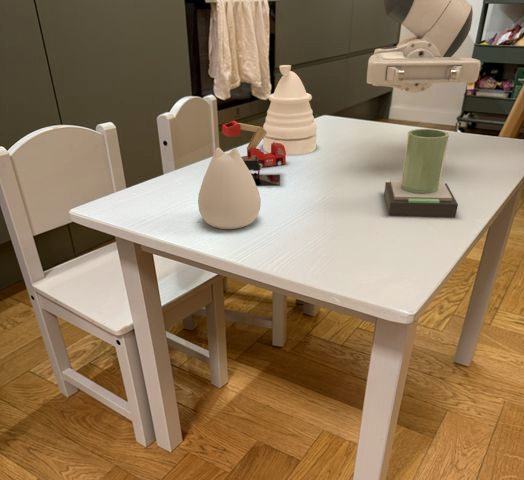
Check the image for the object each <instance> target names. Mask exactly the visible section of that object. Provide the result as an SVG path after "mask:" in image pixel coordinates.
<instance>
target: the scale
mask: <svg viewBox="0 0 524 480" xmlns="http://www.w3.org/2000/svg"><path fill="white" fill-rule="evenodd" d="M383 197H384V201H385V205H386V206H385V207H386V211H387V215H388V217H416V218H417V217H419V218H420V217H421V218H448V219H449V218H451V219H453V218H456V217H457V210H458V207H459V204H458V202H457V200H456V198H455V196H454V194H453V192H452V191H451V188H450V187H449V184H448V183H445V181H444V180H443V179H440V185H439V188H438V190H437V191H436V192H433V193H428V194H418V193H411V192H407V191H405V190H403V189H402V188H401V179H394V178H393V179H391V178H390V180H389V181H385V184H384V191H383Z"/></svg>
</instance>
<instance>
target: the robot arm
mask: <svg viewBox="0 0 524 480" xmlns="http://www.w3.org/2000/svg"><path fill="white" fill-rule="evenodd" d="M383 4H384V9H385V15H386V16H387V17H389V18H391V19H392V20H393V21H395V22H396V23H398V24H399V25H402V26H403V27H404V28H405V29H406V30H408V31H409V32H410V33H411V34H412V35H413V36H410V37H406V38H404V39H402V40H401V41H399V42H398V43H397V44H396V45H394V46H388V47H381V48H375V49H374V52H373V54H372V55H370V56H369V58H368V62H367V70H366V84H368V85H372V86H373V87H379V88H380V87H383V88H384V87H385V88H394V89H397V90H401V91H405V92H409V93H413V94H414V93H416V94H417V93H421V92H423V91H426V90H427V89H429V88H430V87H432V85H434V84H474V83H476V82H477V81H478V79H479V74H480V70H481V65H482V64H481V63H482V62H481V60H479V59H477V58H474V57H473V58H472V57H466V56H454V55H455V53H456V52H457V51H458V50H459V49H460V48H461V46H462V45H463V44H464V42H465V40H466V39H467V37H468V35H469V33H470V31H471V29H472V24H473V14H474V12H473V6H472V5H471V4H470V3H469V2H468V1H467V0H383Z"/></svg>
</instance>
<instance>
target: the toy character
mask: <svg viewBox="0 0 524 480" xmlns="http://www.w3.org/2000/svg"><path fill="white" fill-rule="evenodd" d="M251 174H252V173H251V170H249V169H248V168H247V166H246V164H245V163H244V161H243V159H242V157H241V154H240V152H239V150H238V149H237V147H233V149H232V150H231V151H230V152H224V151H223V149H221V147H216V149H215V151H214V153H213V155H212V158H211V159H210V162H209V165H208V167H207V169H206V171H205V174H204V176H203V178H202V183H201V185H200V188H199V191H198V196H197V197H198V198H197V205H198V211H199V213H200V216H201V218H202V220H203V221H204V222H205V223H206V224H208V225H209V226H211V227H213V228H216V229H221V230H236V229H241V228H245V227H246V226H249V225H252V223H254V222H255V221H256V219H257V218H258V217H259V213H260V210H261V207H262V206H261V205H262V204H261V202H262V201H261V194H260V191H259V189H258V186H256V184H255V181H254V179H253V177H252V175H251Z"/></svg>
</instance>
